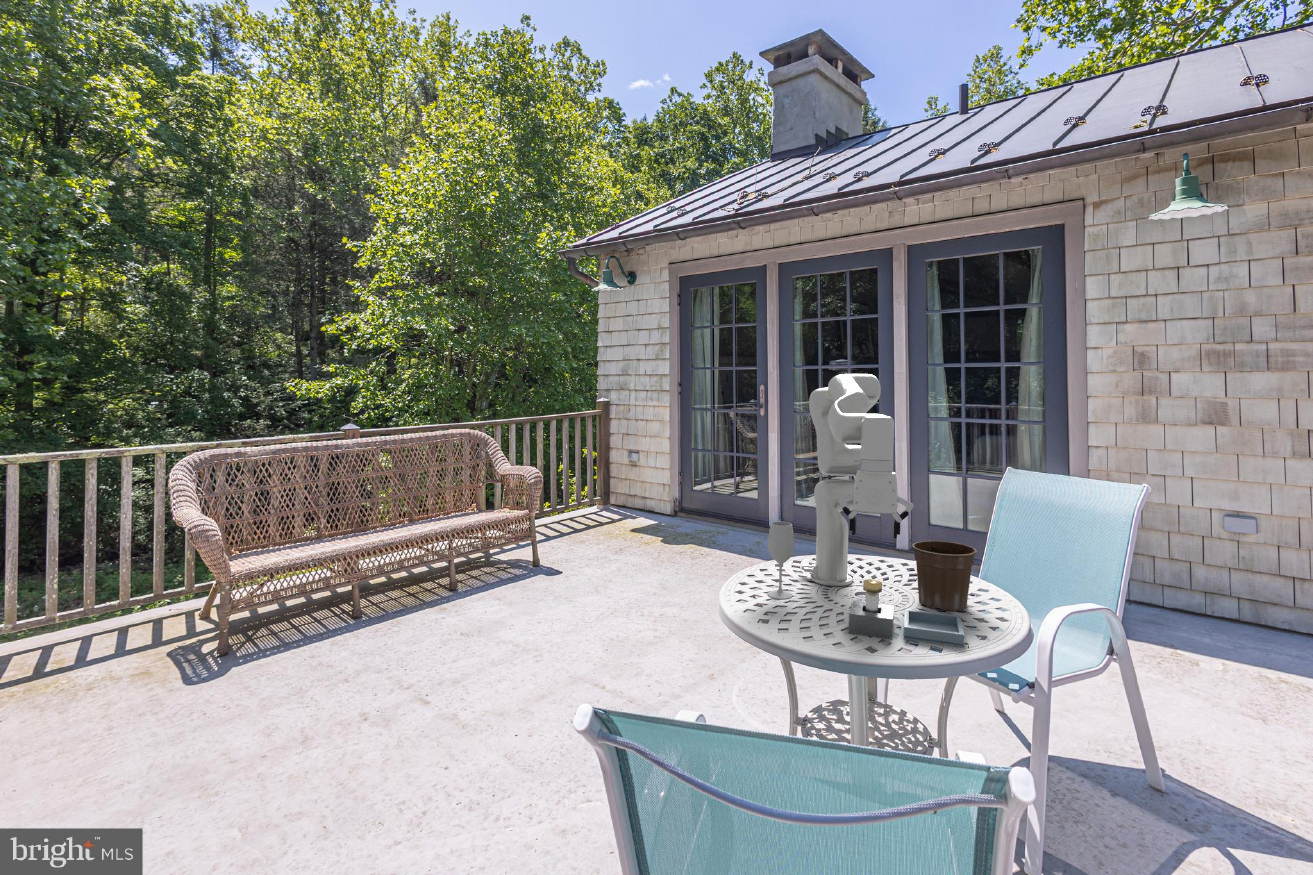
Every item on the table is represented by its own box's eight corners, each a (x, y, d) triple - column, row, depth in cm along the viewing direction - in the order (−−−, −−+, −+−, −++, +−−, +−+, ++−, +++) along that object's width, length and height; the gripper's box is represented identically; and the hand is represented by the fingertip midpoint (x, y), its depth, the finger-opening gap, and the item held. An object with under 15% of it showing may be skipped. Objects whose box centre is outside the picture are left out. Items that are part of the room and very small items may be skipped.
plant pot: (897, 598, 178) (899, 542, 177) (940, 591, 184) (942, 537, 183) (942, 617, 163) (945, 557, 162) (987, 609, 169) (990, 551, 168)
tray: (903, 638, 149) (903, 626, 149) (904, 620, 161) (904, 609, 161) (963, 647, 144) (964, 635, 144) (959, 627, 156) (960, 616, 156)
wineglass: (778, 601, 176) (779, 527, 174) (761, 593, 183) (762, 522, 181) (799, 596, 179) (800, 524, 178) (782, 589, 186) (783, 519, 184)
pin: (861, 631, 154) (862, 583, 153) (862, 624, 158) (864, 578, 157) (880, 633, 153) (881, 585, 152) (881, 627, 157) (882, 580, 156)
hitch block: (848, 633, 153) (849, 613, 152) (852, 619, 162) (852, 600, 162) (892, 639, 149) (892, 619, 149) (893, 625, 158) (893, 605, 158)
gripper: (837, 466, 152) (836, 535, 153) (914, 469, 145) (912, 542, 147) (841, 463, 159) (839, 529, 160) (914, 466, 152) (912, 535, 154)
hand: (874, 535), depth 153 cm, fingers open, 9 cm apart
